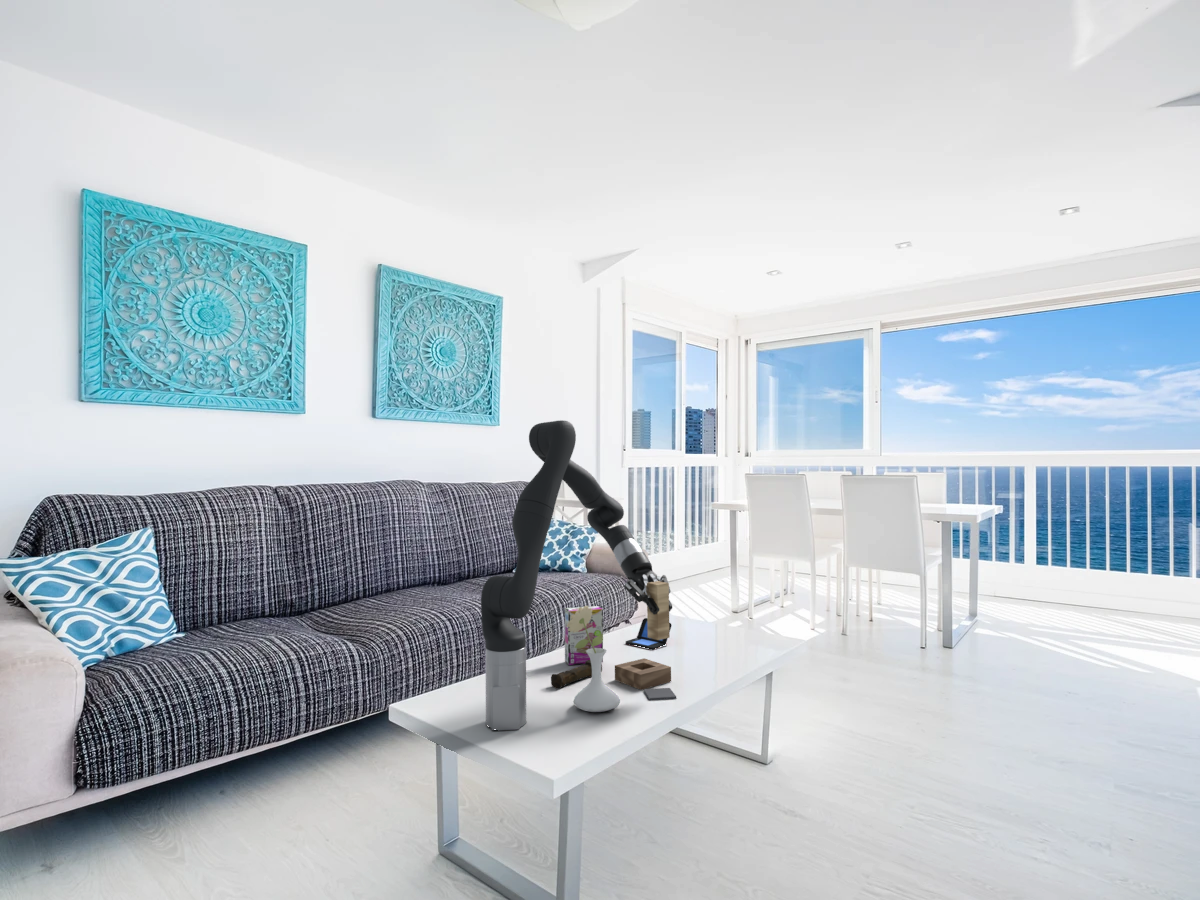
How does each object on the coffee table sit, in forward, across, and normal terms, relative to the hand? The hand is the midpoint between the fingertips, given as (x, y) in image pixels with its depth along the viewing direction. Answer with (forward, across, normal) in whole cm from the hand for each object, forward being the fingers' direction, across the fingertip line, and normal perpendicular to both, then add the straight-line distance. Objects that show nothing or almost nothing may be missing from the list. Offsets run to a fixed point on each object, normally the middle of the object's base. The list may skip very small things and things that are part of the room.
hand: (663, 611), depth 163 cm
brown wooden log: (-3, -9, +34) cm, 35 cm away
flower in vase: (+12, -19, +19) cm, 29 cm away
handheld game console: (-14, +32, +45) cm, 57 cm away
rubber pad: (+14, 0, +17) cm, 22 cm away
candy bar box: (-12, +3, +43) cm, 44 cm away
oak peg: (+4, 0, +6) cm, 7 cm away
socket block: (+6, +4, +25) cm, 26 cm away
